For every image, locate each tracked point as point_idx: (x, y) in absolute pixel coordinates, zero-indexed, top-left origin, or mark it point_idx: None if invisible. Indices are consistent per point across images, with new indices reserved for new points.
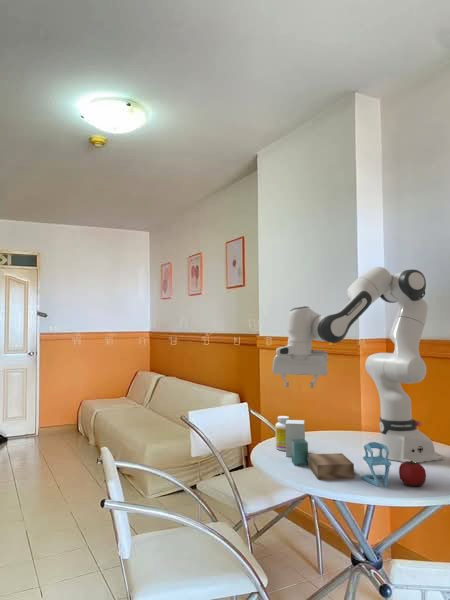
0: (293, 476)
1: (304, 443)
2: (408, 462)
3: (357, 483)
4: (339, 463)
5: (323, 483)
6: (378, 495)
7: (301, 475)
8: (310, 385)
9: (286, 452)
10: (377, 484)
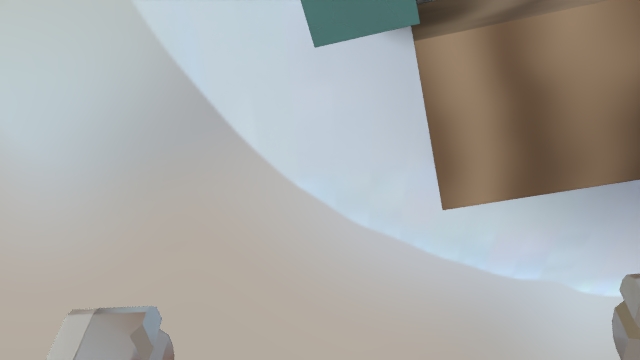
0: (322, 144)
1: (393, 27)
2: None
3: (605, 187)
4: (565, 180)
5: None
6: None
7: (361, 128)
8: (638, 321)
9: None
10: None
